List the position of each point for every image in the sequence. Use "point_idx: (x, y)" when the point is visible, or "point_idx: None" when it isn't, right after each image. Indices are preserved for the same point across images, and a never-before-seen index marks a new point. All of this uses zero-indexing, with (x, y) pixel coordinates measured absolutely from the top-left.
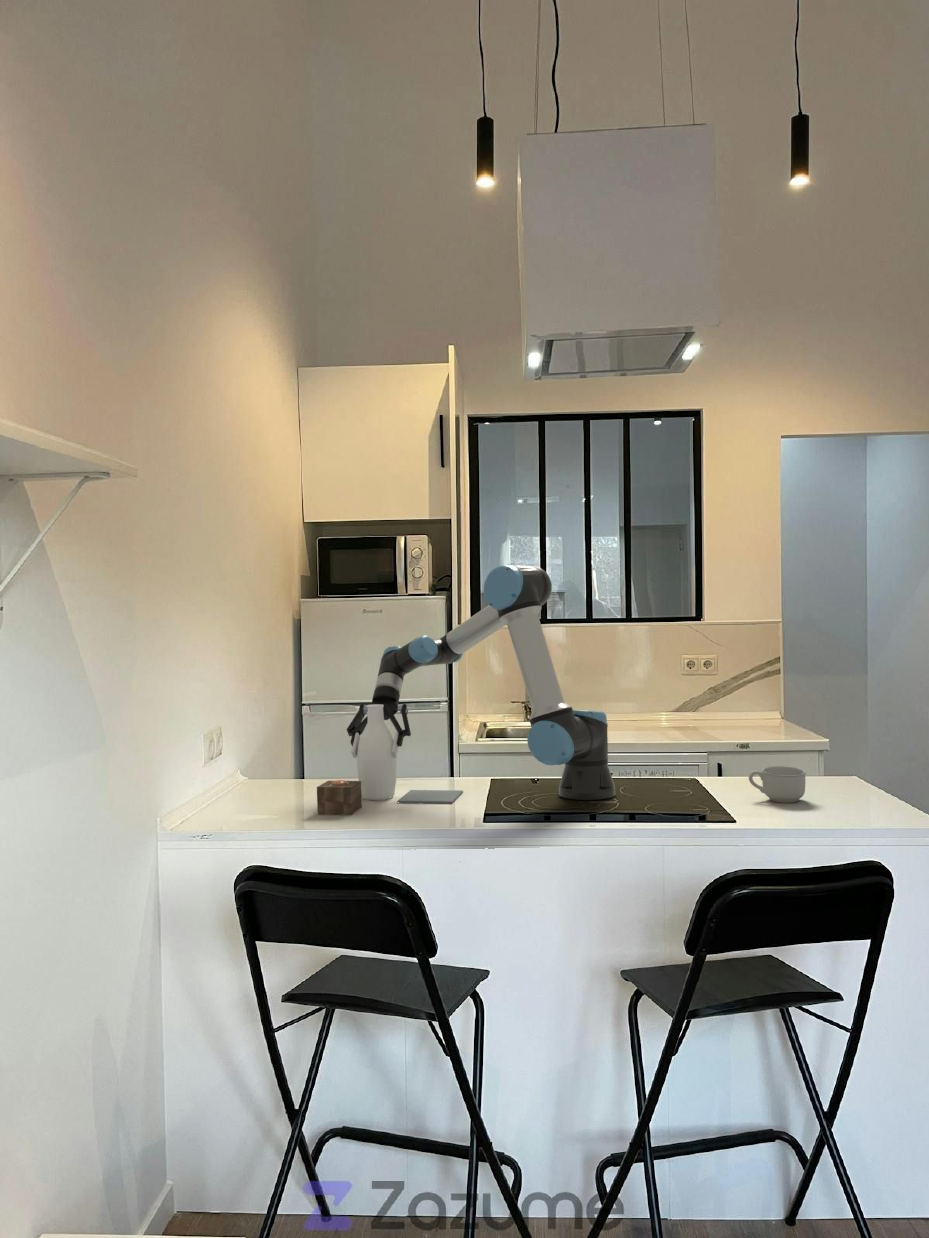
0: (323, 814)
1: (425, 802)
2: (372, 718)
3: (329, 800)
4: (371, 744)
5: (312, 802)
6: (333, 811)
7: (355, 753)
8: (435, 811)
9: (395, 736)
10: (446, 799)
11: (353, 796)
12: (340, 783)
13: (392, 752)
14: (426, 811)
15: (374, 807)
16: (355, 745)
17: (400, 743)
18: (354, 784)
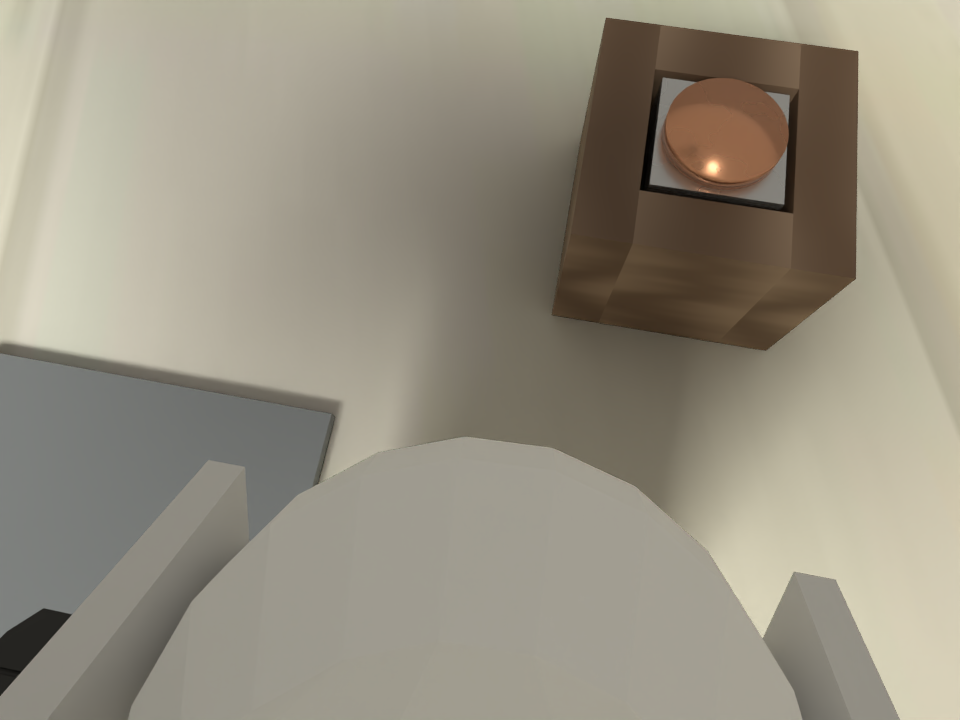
0: None
1: (152, 383)
2: (555, 707)
3: None
4: (524, 454)
5: (931, 515)
6: None
7: (774, 646)
8: (126, 173)
9: (34, 706)
10: (5, 417)
11: (587, 115)
12: (701, 82)
13: (234, 474)
14: (174, 178)
15: (473, 308)
16: (832, 677)
17: (37, 624)
18: (597, 104)
